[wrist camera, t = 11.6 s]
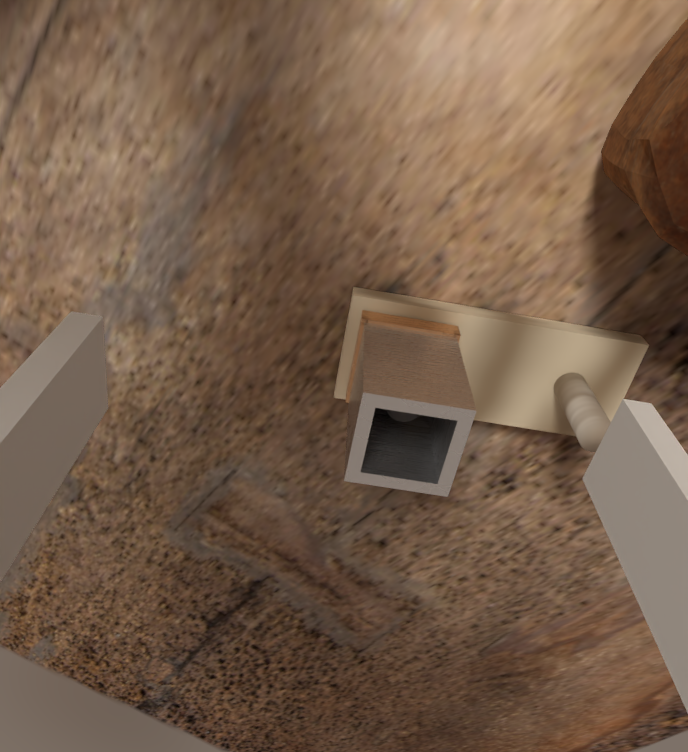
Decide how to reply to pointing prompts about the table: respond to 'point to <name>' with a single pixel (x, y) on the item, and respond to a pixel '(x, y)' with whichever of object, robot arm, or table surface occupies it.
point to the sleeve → (407, 404)
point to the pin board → (520, 364)
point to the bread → (656, 143)
